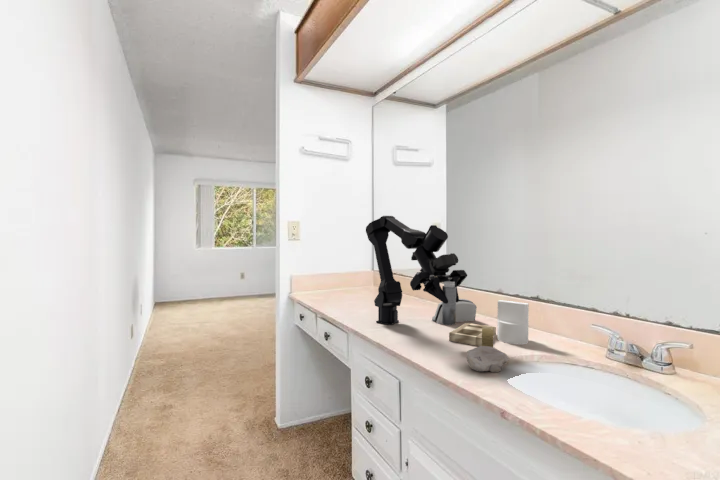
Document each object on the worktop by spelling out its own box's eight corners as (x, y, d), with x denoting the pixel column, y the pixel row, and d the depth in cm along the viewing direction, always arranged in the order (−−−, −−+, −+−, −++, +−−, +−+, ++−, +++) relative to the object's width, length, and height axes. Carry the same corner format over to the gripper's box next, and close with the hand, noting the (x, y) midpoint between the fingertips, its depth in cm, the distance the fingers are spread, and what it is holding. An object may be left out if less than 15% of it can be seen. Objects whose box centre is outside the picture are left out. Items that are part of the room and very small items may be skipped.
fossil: (517, 359, 88) (487, 348, 85) (507, 384, 88) (477, 374, 84) (492, 346, 96) (464, 335, 93) (482, 369, 96) (454, 359, 92)
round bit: (440, 323, 107) (440, 281, 107) (445, 321, 111) (445, 280, 110) (453, 325, 105) (453, 282, 105) (457, 323, 108) (458, 281, 108)
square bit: (481, 353, 101) (481, 328, 101) (482, 350, 104) (482, 326, 104) (493, 354, 100) (493, 329, 100) (493, 351, 103) (493, 326, 103)
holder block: (449, 340, 113) (449, 332, 113) (466, 329, 127) (466, 322, 127) (481, 346, 108) (481, 338, 108) (495, 334, 121) (495, 326, 121)
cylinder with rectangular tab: (532, 339, 115) (532, 302, 115) (522, 346, 108) (522, 306, 108) (503, 334, 121) (503, 298, 121) (492, 340, 114) (493, 302, 114)
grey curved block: (467, 317, 146) (473, 295, 142) (474, 324, 141) (480, 301, 138) (430, 320, 140) (435, 297, 137) (436, 327, 136) (441, 304, 133)
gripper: (416, 245, 106) (441, 287, 97) (463, 244, 115) (490, 283, 106) (400, 269, 113) (422, 311, 104) (446, 267, 122) (470, 305, 113)
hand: (452, 302), depth 106 cm, fingers closed on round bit, 4 cm apart
